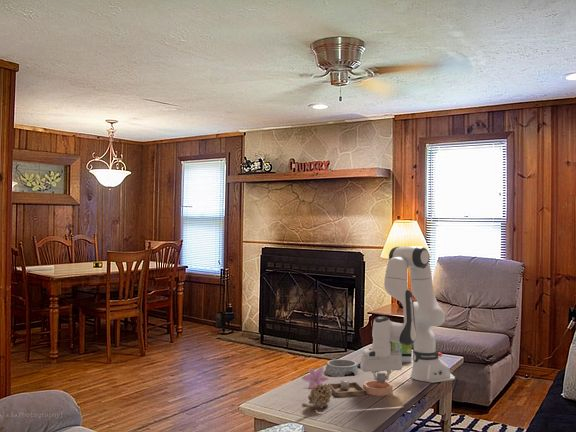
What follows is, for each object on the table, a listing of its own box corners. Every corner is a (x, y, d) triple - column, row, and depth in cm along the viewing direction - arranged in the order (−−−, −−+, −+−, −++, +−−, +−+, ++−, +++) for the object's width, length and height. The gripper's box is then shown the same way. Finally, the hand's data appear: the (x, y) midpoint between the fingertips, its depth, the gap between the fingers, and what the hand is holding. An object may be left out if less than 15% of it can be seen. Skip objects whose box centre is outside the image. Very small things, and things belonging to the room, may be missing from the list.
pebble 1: (347, 387, 256) (347, 379, 256) (349, 390, 252) (350, 382, 252) (339, 388, 255) (339, 380, 255) (342, 390, 251) (342, 382, 251)
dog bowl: (319, 370, 290) (319, 360, 290) (348, 366, 297) (348, 357, 297) (334, 378, 274) (334, 368, 274) (364, 374, 281) (364, 364, 281)
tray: (356, 387, 259) (356, 382, 259) (366, 396, 245) (366, 390, 245) (328, 389, 256) (328, 383, 256) (336, 398, 242) (336, 392, 242)
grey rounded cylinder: (383, 380, 254) (383, 372, 254) (386, 383, 250) (386, 374, 250) (375, 381, 253) (375, 372, 253) (378, 383, 249) (378, 375, 249)
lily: (298, 389, 260) (299, 375, 255) (311, 374, 268) (312, 361, 263) (319, 400, 254) (320, 386, 249) (331, 385, 262) (333, 371, 257)
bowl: (385, 387, 259) (385, 379, 259) (395, 396, 246) (395, 388, 246) (360, 389, 256) (360, 381, 257) (369, 397, 244) (369, 389, 244)
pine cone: (316, 400, 240) (316, 378, 240) (335, 404, 235) (336, 382, 235) (294, 416, 220) (295, 392, 220) (315, 420, 216) (315, 396, 216)
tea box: (412, 362, 305) (412, 337, 305) (394, 362, 305) (395, 337, 305) (406, 355, 320) (406, 331, 320) (390, 355, 320) (390, 331, 320)
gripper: (399, 348, 257) (398, 376, 257) (359, 350, 253) (359, 378, 253) (404, 351, 251) (404, 380, 251) (363, 353, 247) (363, 382, 247)
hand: (381, 379), depth 252 cm, fingers closed on grey rounded cylinder, 4 cm apart
